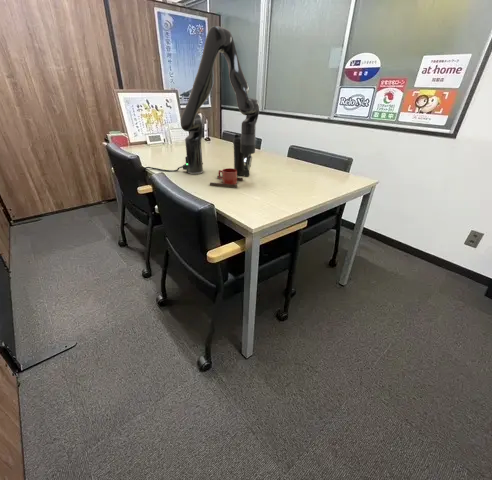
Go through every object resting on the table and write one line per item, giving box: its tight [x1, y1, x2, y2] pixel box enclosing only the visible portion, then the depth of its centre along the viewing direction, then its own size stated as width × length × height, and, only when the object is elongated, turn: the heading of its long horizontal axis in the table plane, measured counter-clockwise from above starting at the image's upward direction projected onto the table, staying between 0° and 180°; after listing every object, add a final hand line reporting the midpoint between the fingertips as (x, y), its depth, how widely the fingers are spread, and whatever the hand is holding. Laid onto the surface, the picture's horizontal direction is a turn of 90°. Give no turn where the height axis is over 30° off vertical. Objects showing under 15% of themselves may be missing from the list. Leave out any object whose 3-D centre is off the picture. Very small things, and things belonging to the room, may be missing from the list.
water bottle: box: [232, 133, 245, 177], centre depth 156 cm, size 10×10×23 cm
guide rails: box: [209, 175, 244, 189], centre depth 147 cm, size 15×14×2 cm
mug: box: [217, 167, 238, 185], centre depth 146 cm, size 11×8×7 cm
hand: (246, 176), depth 142 cm, fingers closed
